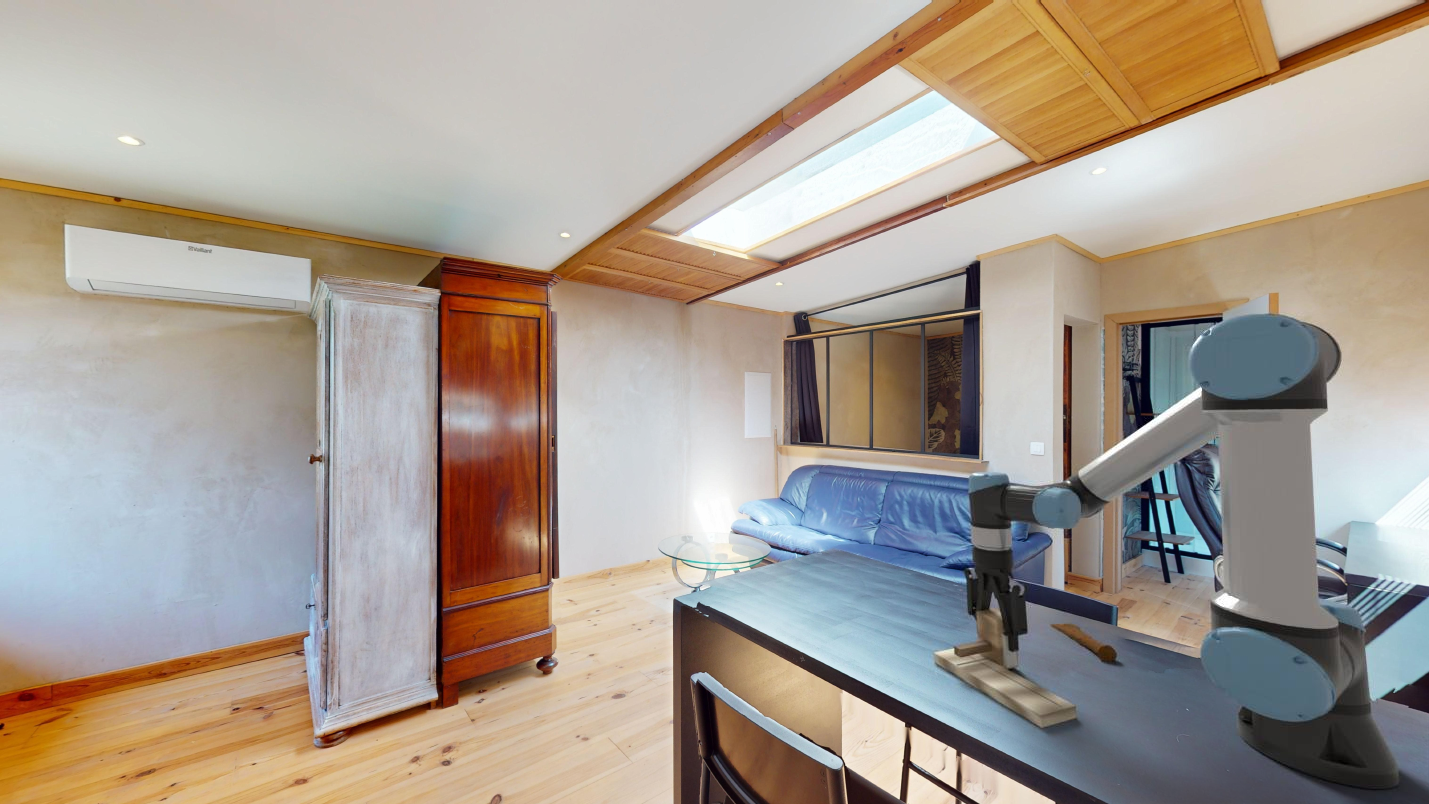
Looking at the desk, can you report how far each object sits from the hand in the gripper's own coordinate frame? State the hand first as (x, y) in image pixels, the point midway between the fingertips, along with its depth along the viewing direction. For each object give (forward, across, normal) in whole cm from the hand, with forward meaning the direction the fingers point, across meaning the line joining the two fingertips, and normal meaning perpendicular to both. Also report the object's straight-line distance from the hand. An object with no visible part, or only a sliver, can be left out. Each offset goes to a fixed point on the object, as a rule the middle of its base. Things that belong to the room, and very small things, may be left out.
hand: (998, 659), depth 100 cm
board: (+1, -6, +7) cm, 9 cm away
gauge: (+1, 0, +4) cm, 4 cm away
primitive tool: (+2, +2, -27) cm, 27 cm away
